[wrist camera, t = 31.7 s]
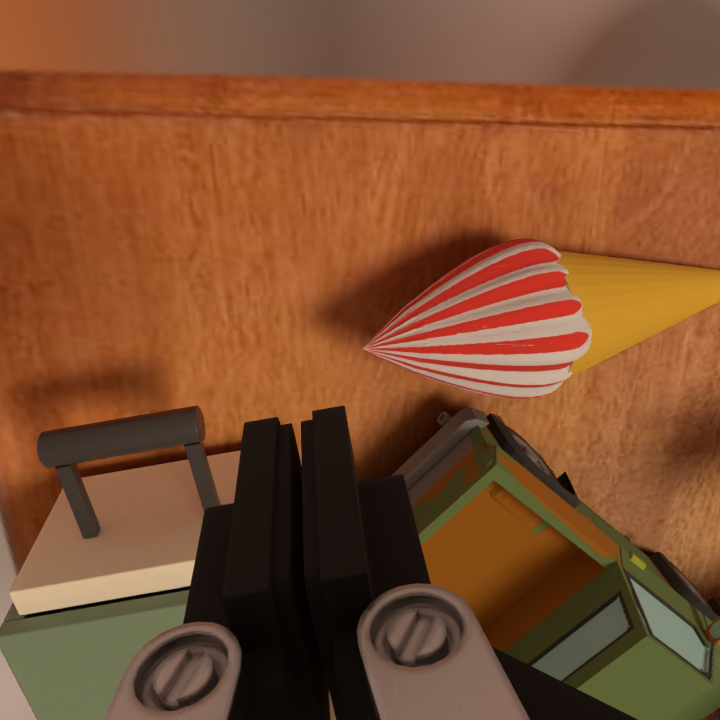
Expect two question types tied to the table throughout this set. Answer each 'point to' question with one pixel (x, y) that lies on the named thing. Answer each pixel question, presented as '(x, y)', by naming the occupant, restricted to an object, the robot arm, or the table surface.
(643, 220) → the table surface
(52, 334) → the table surface
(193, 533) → the drawer
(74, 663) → the cabinet
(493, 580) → the toy truck
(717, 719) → the planter
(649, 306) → the ice cream cone
